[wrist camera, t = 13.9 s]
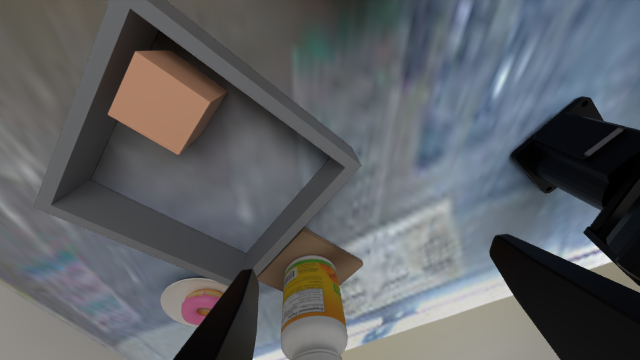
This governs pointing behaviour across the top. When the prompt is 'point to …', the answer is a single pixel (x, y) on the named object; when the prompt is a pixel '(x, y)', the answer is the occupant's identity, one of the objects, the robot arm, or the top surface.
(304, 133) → the bin rim
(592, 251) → the top surface
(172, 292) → the donut
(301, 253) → the walnut coaster
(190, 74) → the terracotta cube
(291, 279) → the supplement bottle
